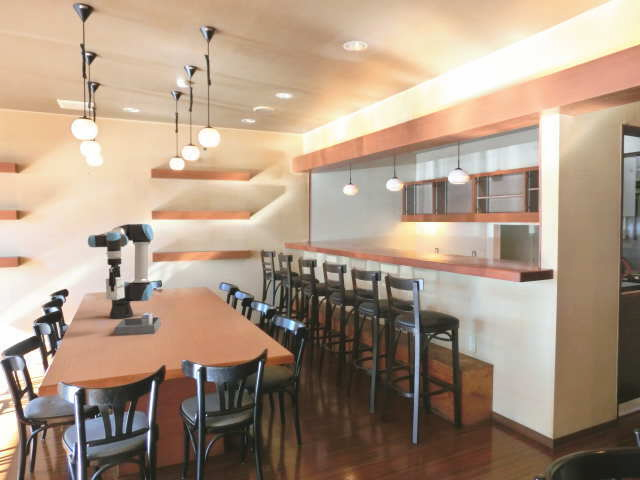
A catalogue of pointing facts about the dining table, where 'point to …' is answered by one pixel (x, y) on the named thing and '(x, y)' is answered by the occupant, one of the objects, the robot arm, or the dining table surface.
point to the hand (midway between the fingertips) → (115, 295)
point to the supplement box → (119, 289)
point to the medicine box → (147, 319)
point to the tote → (136, 326)
